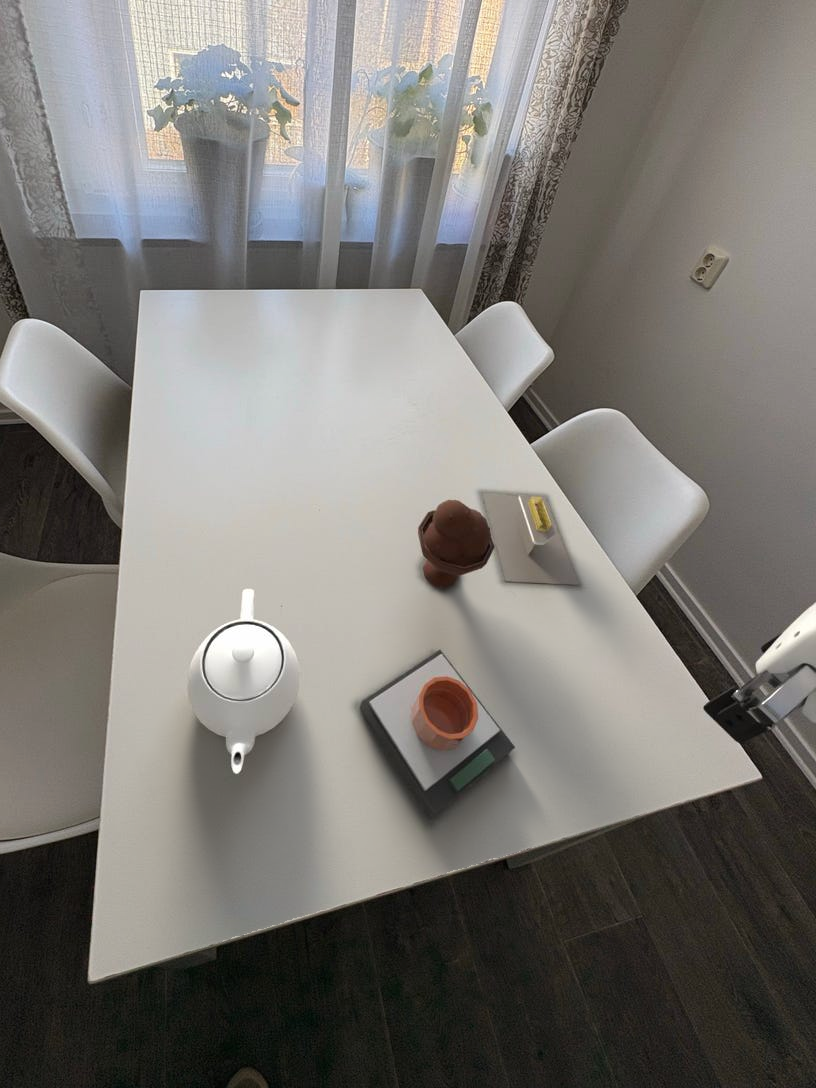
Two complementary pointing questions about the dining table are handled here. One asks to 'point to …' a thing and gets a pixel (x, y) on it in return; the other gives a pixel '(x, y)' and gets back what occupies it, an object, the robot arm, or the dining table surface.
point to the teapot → (243, 680)
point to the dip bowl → (444, 713)
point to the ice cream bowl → (453, 542)
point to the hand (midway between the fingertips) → (751, 691)
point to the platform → (528, 540)
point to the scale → (421, 765)
